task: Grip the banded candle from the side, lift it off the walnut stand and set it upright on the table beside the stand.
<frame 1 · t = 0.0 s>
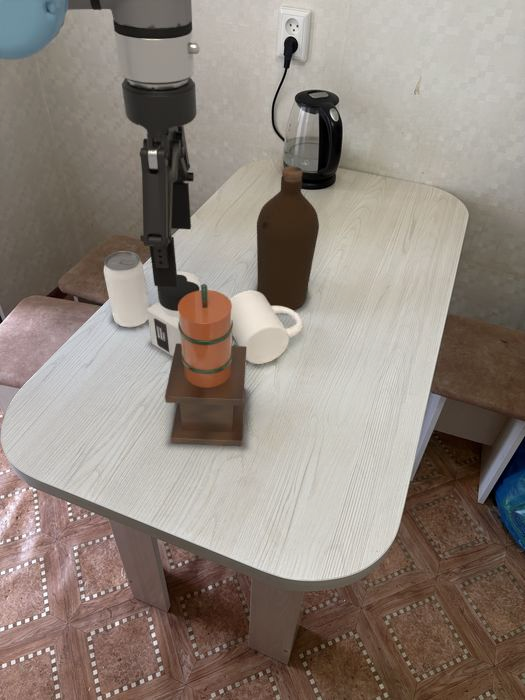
hand: (174, 254, 67), 22 cm above the table, tool pointing down, fingers open, 13 cm apart
mug: (265, 342, 87), on the table
stand: (210, 417, 75), on the table
can: (132, 317, 90), on the table
container: (183, 343, 86), on the table
banded candle: (207, 370, 68), point 10 cm above the table, touching stand
olive oil: (282, 297, 97), on the table
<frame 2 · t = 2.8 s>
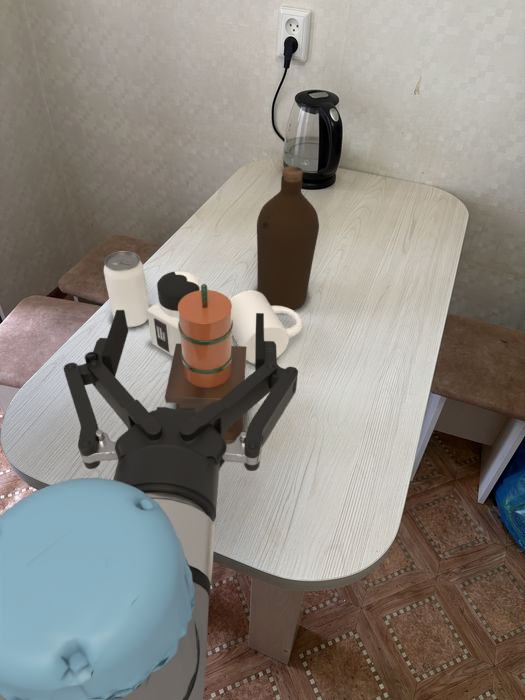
hand: (191, 321, 50), 26 cm above the table, tool horizontal, fingers open, 13 cm apart
nothing on the table moved.
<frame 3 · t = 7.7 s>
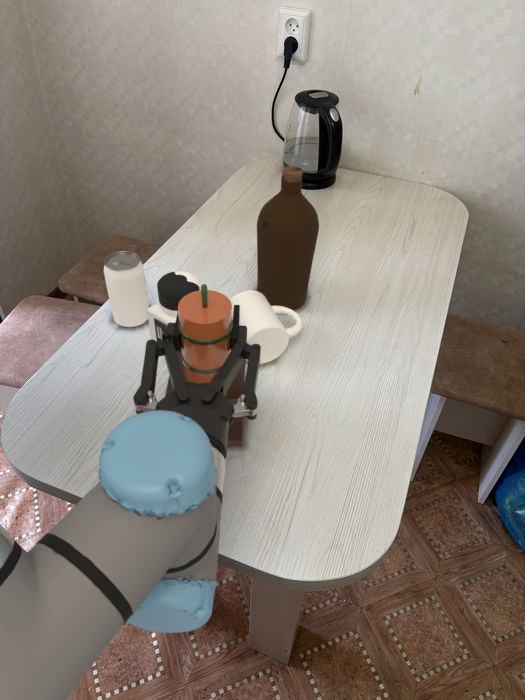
hand: (210, 311, 67), 16 cm above the table, tool horizontal, fingers closed on banded candle, 6 cm apart
banded candle: (207, 370, 68), point 10 cm above the table, touching gripper, stand
everything else where it was.
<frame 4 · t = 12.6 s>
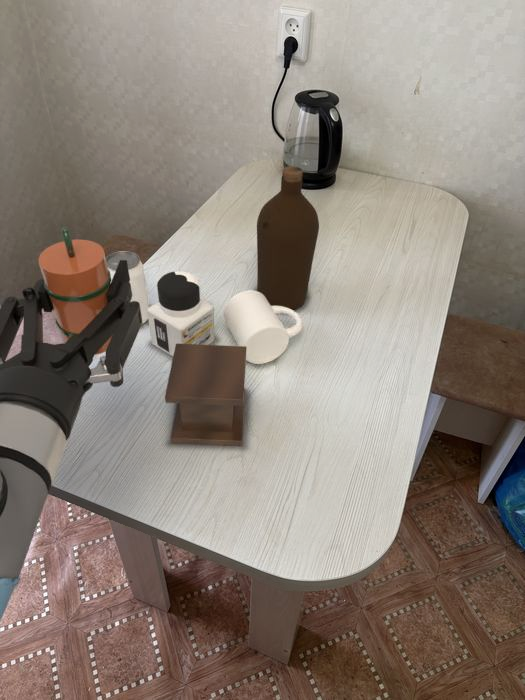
hand: (94, 268, 58), 25 cm above the table, tool horizontal, fingers closed on banded candle, 6 cm apart
banded candle: (92, 336, 59), point 19 cm above the table, touching gripper
everything else where it was.
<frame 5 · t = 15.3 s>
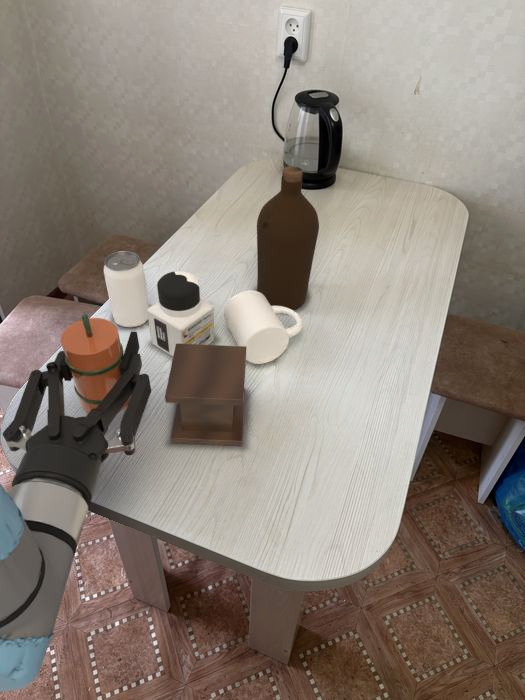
hand: (107, 338, 65), 14 cm above the table, tool horizontal, fingers closed on banded candle, 6 cm apart
banded candle: (106, 398, 66), point 8 cm above the table, touching gripper
everything else where it was.
when the fingers open (6 cm above the table, at t = 17.8 s): banded candle stays where it is, on the table.
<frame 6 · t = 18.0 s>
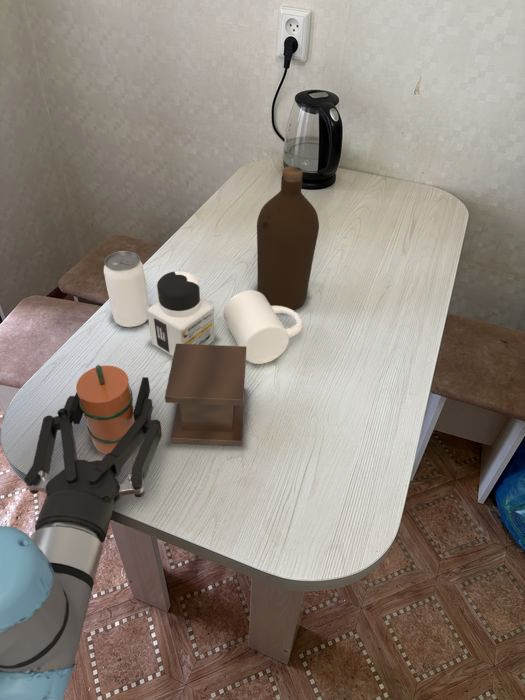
hand: (117, 382, 71), 6 cm above the table, tool horizontal, fingers open, 8 cm apart
banded candle: (116, 435, 71), on the table
everything else where it was.
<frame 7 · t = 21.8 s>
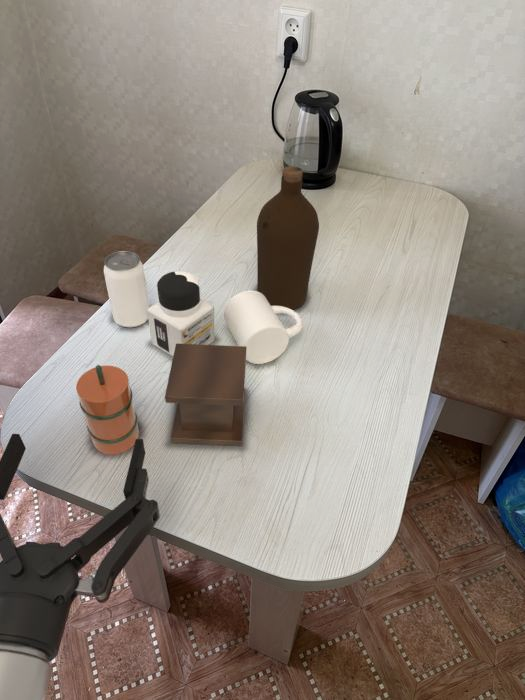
hand: (80, 443, 57), 11 cm above the table, tool horizontal, fingers open, 13 cm apart
nothing on the table moved.
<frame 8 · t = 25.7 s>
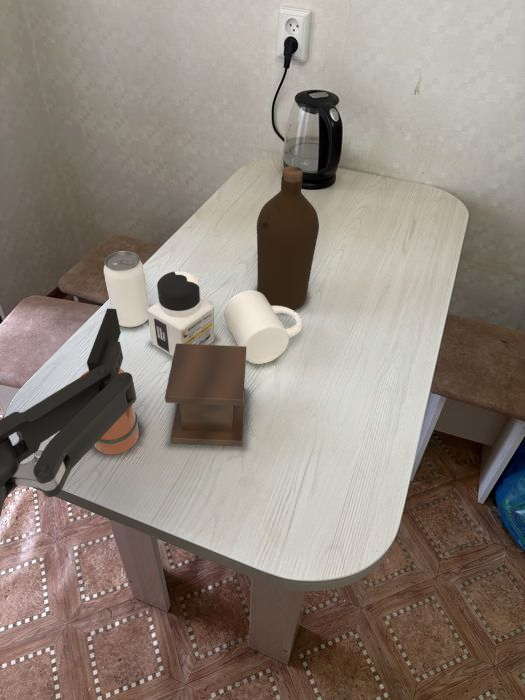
hand: (35, 316, 44), 30 cm above the table, tool horizontal, fingers open, 13 cm apart
nothing on the table moved.
at the end: banded candle inside the target area (0.1 cm from its centre), on the table; banded candle tilted 0°; the gripper is holding nothing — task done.
